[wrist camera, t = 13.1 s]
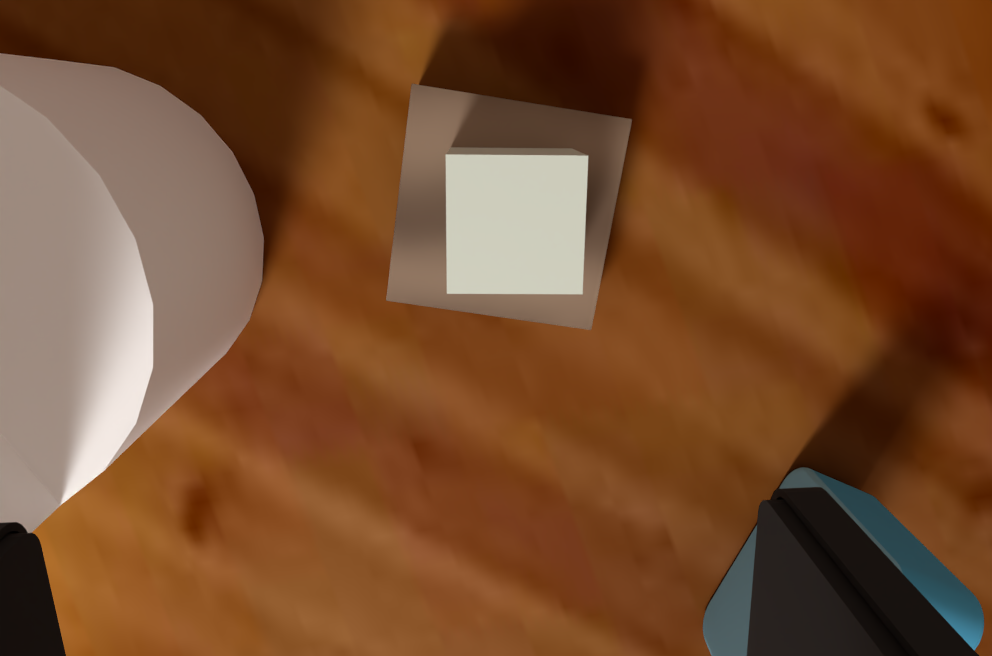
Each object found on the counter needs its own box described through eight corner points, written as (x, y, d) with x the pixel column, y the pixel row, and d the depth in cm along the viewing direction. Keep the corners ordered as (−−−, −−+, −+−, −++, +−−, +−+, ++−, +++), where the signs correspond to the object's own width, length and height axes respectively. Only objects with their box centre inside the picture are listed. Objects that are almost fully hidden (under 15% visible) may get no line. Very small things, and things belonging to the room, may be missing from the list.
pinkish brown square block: (418, 86, 38) (411, 83, 34) (616, 118, 38) (632, 119, 34) (394, 282, 40) (386, 300, 37) (580, 309, 41) (591, 330, 37)
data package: (760, 647, 47) (852, 823, 35) (695, 622, 46) (767, 793, 35) (863, 484, 44) (1001, 618, 32) (796, 455, 43) (911, 582, 32)
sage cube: (450, 147, 35) (445, 154, 29) (571, 148, 35) (588, 155, 29) (451, 266, 36) (446, 293, 31) (567, 267, 36) (582, 294, 31)
